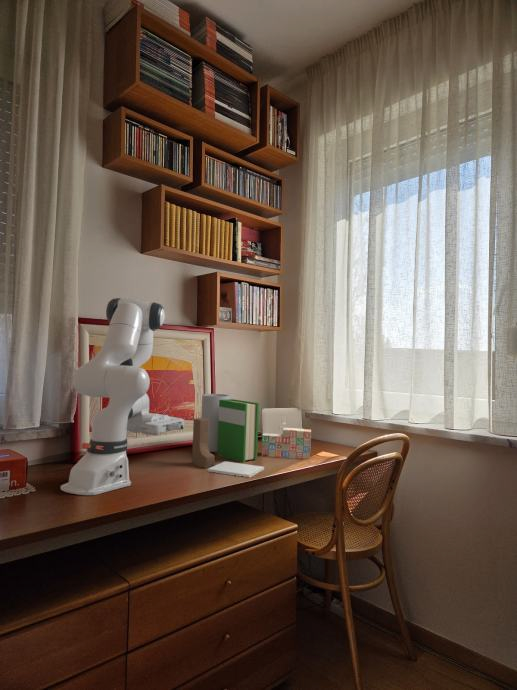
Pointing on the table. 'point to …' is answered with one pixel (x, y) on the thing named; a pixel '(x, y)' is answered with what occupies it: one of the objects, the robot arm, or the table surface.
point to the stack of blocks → (287, 444)
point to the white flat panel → (236, 469)
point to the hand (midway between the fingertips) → (181, 427)
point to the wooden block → (201, 444)
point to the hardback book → (238, 429)
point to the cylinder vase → (212, 417)
